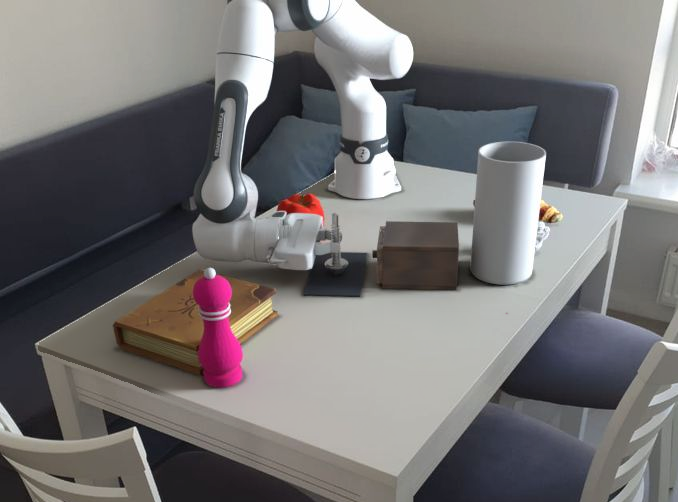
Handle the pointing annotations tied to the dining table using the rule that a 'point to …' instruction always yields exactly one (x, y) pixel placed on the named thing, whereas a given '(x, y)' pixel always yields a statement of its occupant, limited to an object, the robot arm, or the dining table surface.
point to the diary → (189, 322)
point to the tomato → (302, 205)
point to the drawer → (379, 255)
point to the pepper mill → (217, 331)
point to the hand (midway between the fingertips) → (340, 241)
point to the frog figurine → (541, 234)
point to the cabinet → (420, 255)
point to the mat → (337, 276)
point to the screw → (336, 262)
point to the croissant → (546, 213)
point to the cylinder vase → (506, 211)
